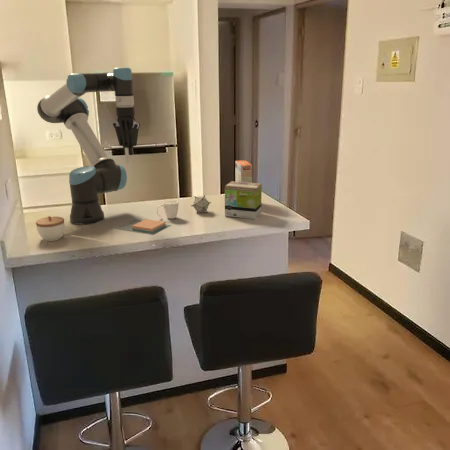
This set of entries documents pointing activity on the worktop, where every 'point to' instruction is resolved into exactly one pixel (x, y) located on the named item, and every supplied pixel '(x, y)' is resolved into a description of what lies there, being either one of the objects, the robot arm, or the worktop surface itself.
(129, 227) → the mat
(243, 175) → the cracker box
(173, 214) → the cup
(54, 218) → the lidded jar
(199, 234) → the worktop surface
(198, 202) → the game die
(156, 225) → the tile
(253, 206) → the tea box
